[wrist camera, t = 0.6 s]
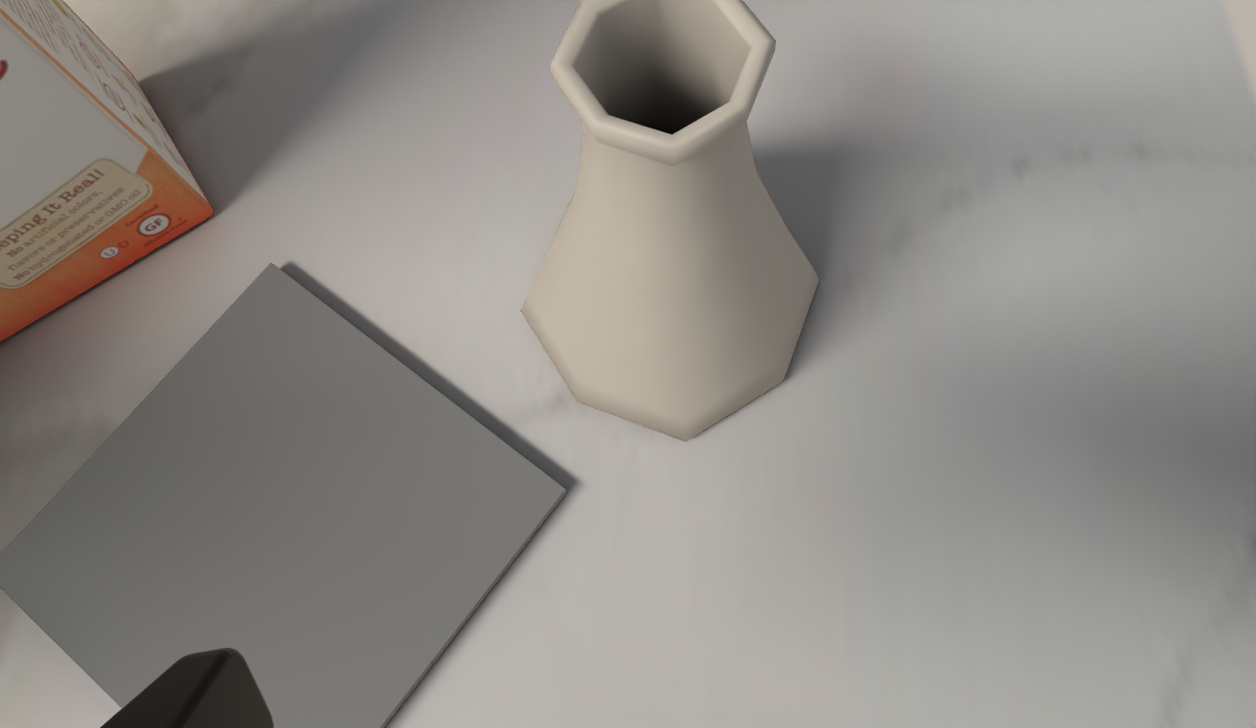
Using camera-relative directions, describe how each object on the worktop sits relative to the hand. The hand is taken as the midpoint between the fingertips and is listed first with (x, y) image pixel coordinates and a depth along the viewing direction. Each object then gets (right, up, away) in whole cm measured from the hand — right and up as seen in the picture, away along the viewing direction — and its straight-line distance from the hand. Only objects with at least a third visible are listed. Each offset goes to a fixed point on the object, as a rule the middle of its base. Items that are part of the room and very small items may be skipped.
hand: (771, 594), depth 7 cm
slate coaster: (-10, -2, +14) cm, 17 cm away
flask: (0, +4, +15) cm, 16 cm away
